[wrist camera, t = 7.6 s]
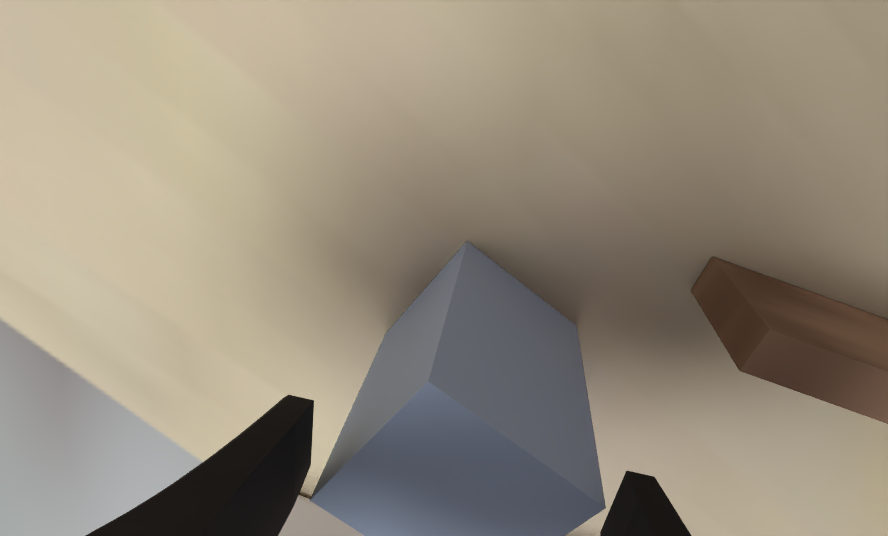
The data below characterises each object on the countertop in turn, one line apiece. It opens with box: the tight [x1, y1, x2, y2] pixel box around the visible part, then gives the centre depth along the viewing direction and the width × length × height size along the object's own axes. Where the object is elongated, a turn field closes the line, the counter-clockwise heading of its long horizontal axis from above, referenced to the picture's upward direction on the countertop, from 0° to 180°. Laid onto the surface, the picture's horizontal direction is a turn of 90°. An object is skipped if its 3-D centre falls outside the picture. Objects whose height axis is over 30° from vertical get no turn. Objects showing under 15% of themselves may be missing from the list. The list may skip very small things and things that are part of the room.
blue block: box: [310, 241, 606, 536], centre depth 14 cm, size 4×4×7 cm
